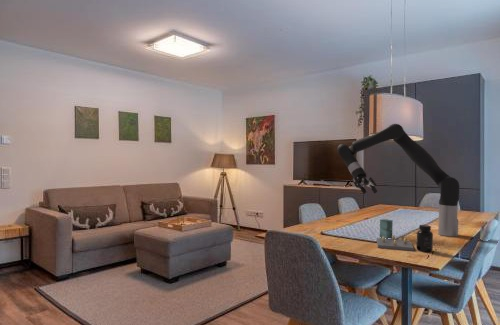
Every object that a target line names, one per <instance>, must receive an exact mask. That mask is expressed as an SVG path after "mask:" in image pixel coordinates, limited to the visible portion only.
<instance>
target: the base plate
mask: <svg viewBox="0 0 500 325" xmlns="http://www.w3.org/2000/svg"><path fill="white" fill-rule="evenodd" d="M395 238H396V236H395V235H393V234H392V239H385V237H382V238H380V237H377V238H376V244H377V248H378V249H387V250H398V251H399V250H400V251H411V252H414V250H415V248H414V246H413V244H412V242H411V241H410V240H407V238H406V237H405V238H403V240H402V239H395Z"/></svg>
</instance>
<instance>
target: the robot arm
mask: <svg viewBox="0 0 500 325" xmlns="http://www.w3.org/2000/svg"><path fill="white" fill-rule="evenodd" d="M386 141H394V142H395V143H396V144H397V145H398V146H400V147H401V149H402V150H403V151H404V153H405V154H406V155H407V156H408V158H409V159H410V160H411V161H412V162H413V163H414V164H415V165H416V166H417V167H418V168H419V169H420V170H422V172H424V173H426V174H427V175H428V176H429V177H430V178H431V179H432V180H433V182H435V184H436V185H437V187H438V188H439V189H440V193H439V194H440V197H439V200H438V230H437V231H438V235H440V236H443V237H459V219H458V206H459V204H458V203H459V199H460V183H459V181H458V179H456V178H455V177H452V176H450V175H449V174H448V173H446V171H444V170H443V168H441V167H440V166H439V164H438V162H437V161H436V160H435V159H434V158H433V156H432V155H431V154H430V153H429V152H428V151H427V150H426V149H425V148H424V147H422V146H421V145H420V144H419V143H417V142H416V141H414V139H412V138H411V137H410V136H409V135H408V134H407V133H406V131H405V130H404V127H403V126H402V125H401V124H399V123H392V124H390V125H389V126H388V127H386V128H384V129H383V130H380V131H379V132H376V133H374V134H370V135H367V136H365V137H362V138H359V139H357V140H354V141H352V144H351V145H350V146H348V145H347V144H346V143H340V144H339V145H338V146H337V150H336V151H337V153H338V154H339V156H340V158H341V159H342V160H343V161H344V164H345V166H346V167H347V169H348V171H349V172H350V175H351V176H352V180H351V181H352V182H353V184H354V186H355V188H356V189H360V191H361V192H362V193H363V194H364V195H365V194H367V192H368V191H367V190H366V188H365V186H366V187H368V188H370V189H371V190H372V192H373V194H377V193H378V189H377V188H376V186H377V183H376V182H375V180H374V179H373V178H372V177H367V173H366V171H365V169H364V168H363V167H362V165H361V163H360V162H359V161H358V159H357V158H356V157H355V156H354V155H357V153H359V152H362V151H364V150H367V149H369V148H372V147H374V146H376V145H378V144H381V143H384V142H386Z"/></svg>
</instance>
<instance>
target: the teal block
mask: <svg viewBox="0 0 500 325" xmlns="http://www.w3.org/2000/svg"><path fill="white" fill-rule="evenodd" d="M393 225H394V224H393V220H392V219H388V218H384V219H379V238H380V237H381V239H382V237H385V238H386V239H388V238H392V235H393Z"/></svg>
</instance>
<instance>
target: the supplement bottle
mask: <svg viewBox="0 0 500 325" xmlns="http://www.w3.org/2000/svg"><path fill="white" fill-rule="evenodd" d="M431 230H432V229H431V225H429V224H420V225H419V227H418V230H417V231H416V250H417V251H419V252H420V253H421V252H422V253H432V252H433V248H434V247H433V246H434V245H433V243H434V233H433V232H432V231H431Z"/></svg>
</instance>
